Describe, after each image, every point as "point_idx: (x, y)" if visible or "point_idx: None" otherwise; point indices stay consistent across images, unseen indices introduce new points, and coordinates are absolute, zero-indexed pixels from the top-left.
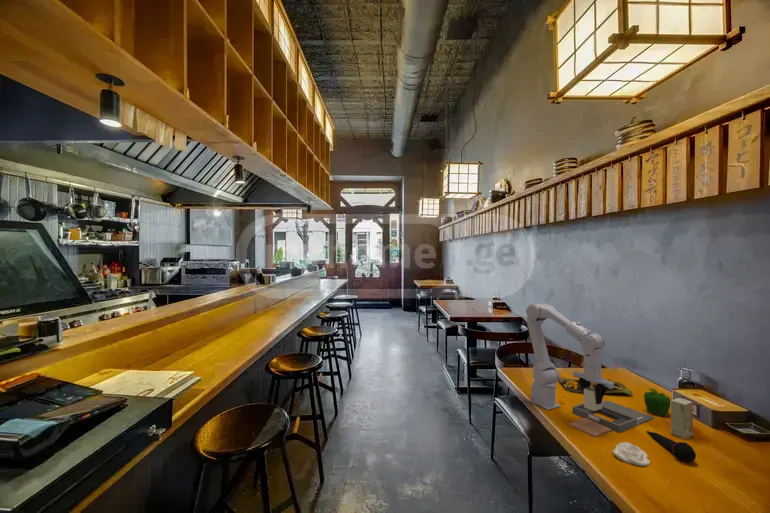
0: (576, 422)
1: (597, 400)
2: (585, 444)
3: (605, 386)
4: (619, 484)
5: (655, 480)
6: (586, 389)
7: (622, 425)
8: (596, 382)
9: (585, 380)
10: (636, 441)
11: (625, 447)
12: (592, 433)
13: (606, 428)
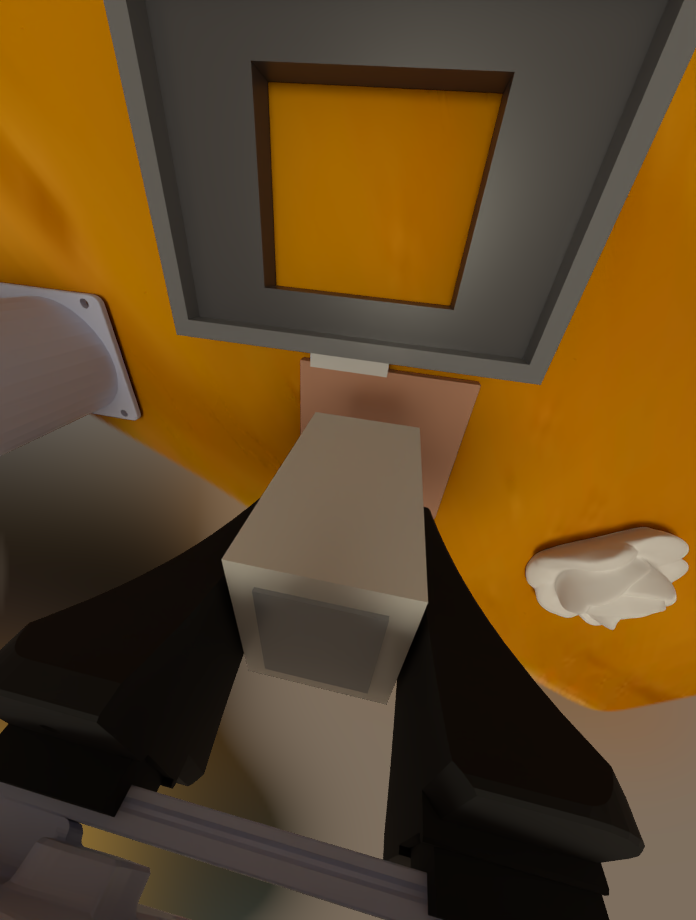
0: None
1: None
2: None
3: (578, 898)
4: (566, 679)
5: (679, 634)
6: (281, 676)
7: (559, 333)
8: (370, 908)
9: (151, 790)
10: (636, 400)
11: (599, 621)
12: None
13: (451, 402)
